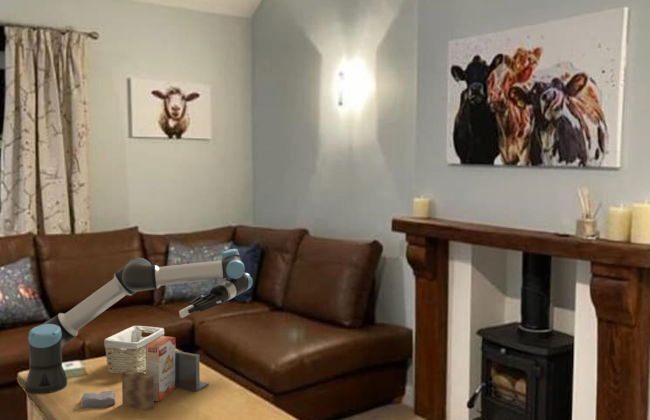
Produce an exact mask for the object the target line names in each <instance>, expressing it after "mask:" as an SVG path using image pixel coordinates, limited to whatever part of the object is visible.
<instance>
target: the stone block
mask: <svg viewBox="0 0 650 420" xmlns="http://www.w3.org/2000/svg"><path fill="white" fill-rule="evenodd" d="M115 405H116V392H115V391H113V390H107V391H105V390H104V391H101V392H83V395H82V396H81V398H80V406H81V408H82V409H90V408H91V409H92V408H100V407H101V408H103V407H105V408H106V407H110V406H115Z"/></svg>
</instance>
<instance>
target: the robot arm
mask: <svg viewBox="0 0 650 420" xmlns="http://www.w3.org/2000/svg"><path fill="white" fill-rule="evenodd" d="M220 255H221V260H211V261H202V262H201V261H200V262H194V263H192V262H191V263H185V264H176V265H175V264H174V265H165V266H159V265H156V264H151V263H150V262H149V260H147V259H145V258H142V257H138V258H133V259H130V260H129V261H128V262H127V263H126V264H125V265H124V266H122V267H121V268H120V269H119V270H117V271H116V272H114V274H113V277H112V279H111V280H110V281H108V282H106V284H104V285H102V287H100V288H99V289H97V290H95V291H94V292H93V293H91V295H89V296H88V297H86V298H85V299H84V300H82V301H81V302H79V303H77V304H76V305H75V306H74V307H73V308H71V309H70V310H68V311H67V312H65V313H63V312H59V313H57V314H56V315H55V316H53V317H52V318H51V319H49V320H46V321H45V322H43V323H42V324H40V325H37V326H34V327H33V328H31V329H30V330H29V332H28V338H27V340H28V355H29V356H28V357H29V359H28V360H29V369H28V370H29V371H28V373H27V378H26V381H25V383H24V390H25V391H26V392H27V393H31V394H46V393H53V392H58V391H61V390H62V389H65V387H67V386H68V378H67V375H66V373H65V369H64V367H63V355H62V354H63V353H62V352H63V350H62V349H63V348H64V346H65V345H67V344H68V343H69V342H70V341H72V340H73V339H74V338H75V337H77V336H78V333H79V330H80V329H82V328H83V327H84V326H86V325H87V324H88V323H89V322H91V321H92V320H94V319H95V318H96V317H98V316H99V315H101V314H102V313H103V312H105V311H106V310H107V309H109V308H110V307H112V306H113V305H115V304H117V302H119V301H120V300H121V299H123V298H124V297H125V296H133V295H134V294H136V293H137V292H143V291H152V290H156V289H157V290H158V289H159V288H160V287H161V286H169V285H177V284H185V283H195V282H204V281H212V280H218V279H219V280H220V279H221V280H222V279H227V280H225V281H224V282H223V283H220V284H218V285H216V286H214V287H212V288H211V289H210V292H209V293H206V294H204V295H202V294H198V295H197V296H196V297H195V298H194V299H192V300H191V301H189V302H188V303H187V304H188V306H186V307H184V308H182V309H180V310H179V311H178V313H179V318H182V319H183V318H185V317H187V316H189V315H191V314H193V313H195V312H198V311H199V312H200V313H201V312H204V311H206V310H209V309H212V308H214V307H216V306H221V305H222V304H223V303H225V302H228V301H229V300H232V299H233V298H235V297H236V296H238V295H241V294H242V293H245V292H246V291H248V290H249V289H251V287H252V286H253V282H254V281H253V278H252V276H251V274H250V273H248V272H245V270H246V269H245V263H243V261H242V259H241V255H240V253H239V250H238V249H237V248H231V249H227V250H224V251H222V252H221V253H220Z"/></svg>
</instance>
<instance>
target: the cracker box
mask: <svg viewBox="0 0 650 420" xmlns="http://www.w3.org/2000/svg"><path fill="white" fill-rule="evenodd" d="M175 351H176V337H175V336H165V335H164V336H162V337H161V338H159V339H157V340H155V341H154V342H152V343H150V344H149V345H147V346H146V370H145V374H150V375H153V392H154V402H160V401H161V400H163V399H164V398H166V397H167V396H168V395H169V394H171V393H173V391H174V390H176V387H175Z"/></svg>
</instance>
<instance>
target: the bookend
mask: <svg viewBox="0 0 650 420" xmlns="http://www.w3.org/2000/svg"><path fill="white" fill-rule="evenodd" d="M200 375H201V374H200V354H197V353H190V352H185V351H180V350H175V389H176V388H177V389H181V390H185V391H191V392H196V393H197V392H199V391H201V390H202V389H204V388H207V387H209V386H210V383H209V382H205V381H200Z"/></svg>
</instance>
